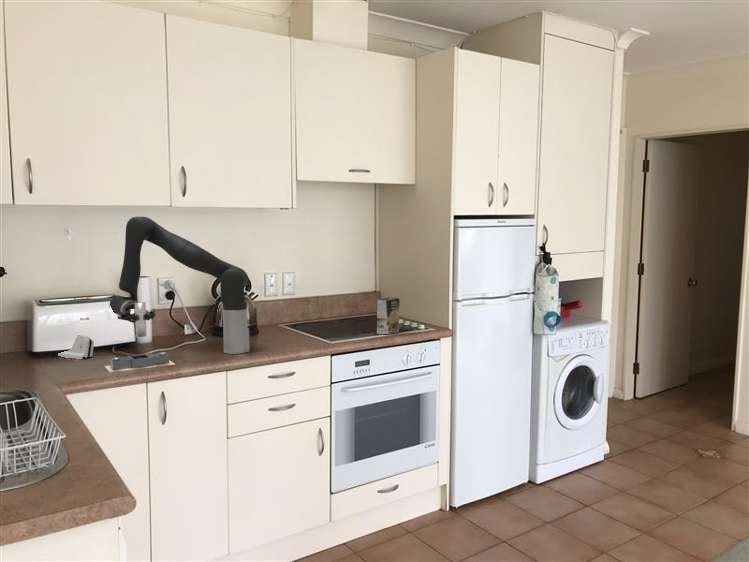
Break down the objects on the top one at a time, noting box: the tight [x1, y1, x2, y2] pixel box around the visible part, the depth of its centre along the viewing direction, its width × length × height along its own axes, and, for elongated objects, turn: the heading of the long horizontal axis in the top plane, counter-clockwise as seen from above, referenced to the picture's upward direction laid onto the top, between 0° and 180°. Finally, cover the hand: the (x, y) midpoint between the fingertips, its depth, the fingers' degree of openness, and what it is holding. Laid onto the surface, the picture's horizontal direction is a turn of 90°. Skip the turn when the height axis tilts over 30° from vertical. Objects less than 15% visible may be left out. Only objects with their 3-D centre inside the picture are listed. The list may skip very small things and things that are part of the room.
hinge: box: [58, 334, 95, 359], centre depth 244 cm, size 17×5×10 cm, turn 67°
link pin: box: [134, 301, 148, 338], centre depth 229 cm, size 4×4×12 cm
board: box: [104, 359, 176, 373], centre depth 228 cm, size 22×10×1 cm, turn 123°
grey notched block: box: [109, 351, 170, 370], centre depth 228 cm, size 19×7×4 cm, turn 123°
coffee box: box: [376, 297, 400, 335], centre depth 295 cm, size 9×6×16 cm
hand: (142, 317), depth 226 cm, fingers closed on link pin, 3 cm apart
